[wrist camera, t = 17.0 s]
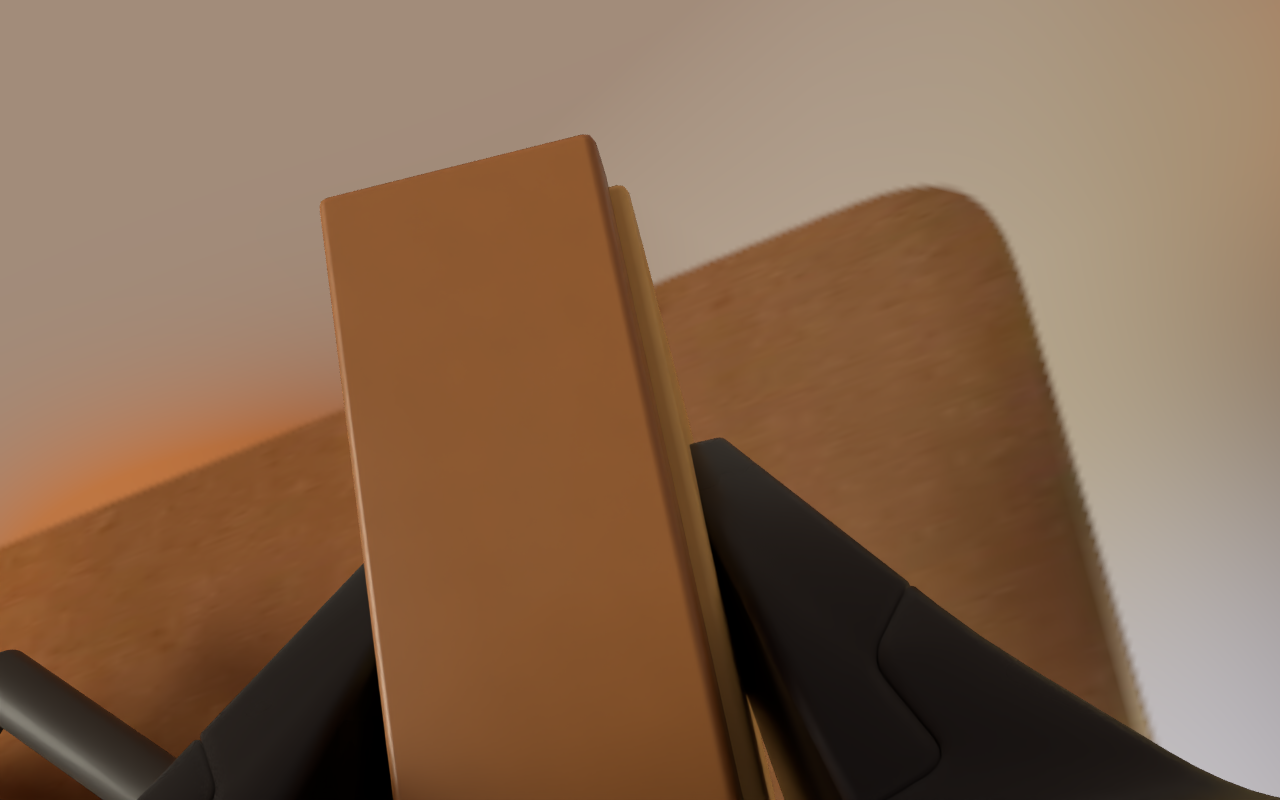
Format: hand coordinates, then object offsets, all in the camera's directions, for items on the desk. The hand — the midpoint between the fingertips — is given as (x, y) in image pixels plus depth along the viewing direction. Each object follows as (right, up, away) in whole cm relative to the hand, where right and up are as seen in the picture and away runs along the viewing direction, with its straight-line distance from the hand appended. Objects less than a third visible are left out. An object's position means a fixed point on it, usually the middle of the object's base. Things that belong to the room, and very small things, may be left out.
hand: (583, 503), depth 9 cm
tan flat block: (+1, -3, +6) cm, 7 cm away
